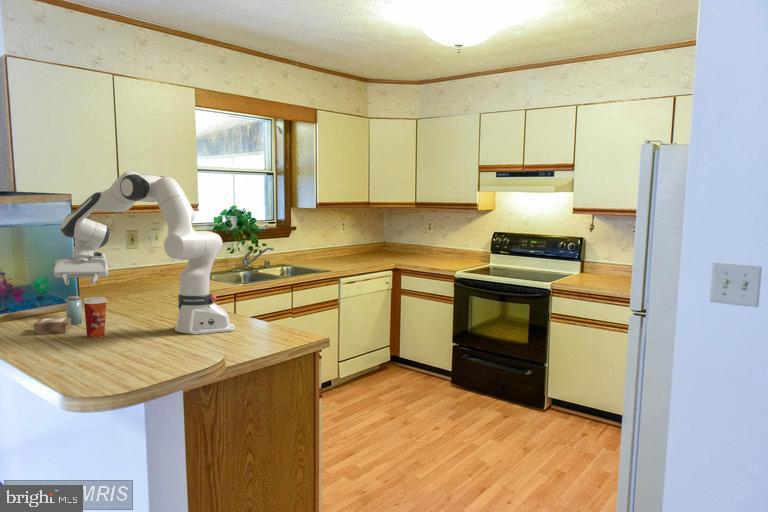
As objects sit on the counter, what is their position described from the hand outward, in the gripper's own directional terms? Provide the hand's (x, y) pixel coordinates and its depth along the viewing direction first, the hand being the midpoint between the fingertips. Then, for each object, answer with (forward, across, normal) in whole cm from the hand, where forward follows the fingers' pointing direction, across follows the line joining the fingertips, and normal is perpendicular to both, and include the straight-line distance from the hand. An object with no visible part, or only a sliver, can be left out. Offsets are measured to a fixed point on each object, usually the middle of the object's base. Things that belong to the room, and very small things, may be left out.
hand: (79, 283), depth 215 cm
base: (+27, -5, -6) cm, 28 cm away
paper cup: (+35, +11, -14) cm, 40 cm away
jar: (+19, 0, +2) cm, 19 cm away
